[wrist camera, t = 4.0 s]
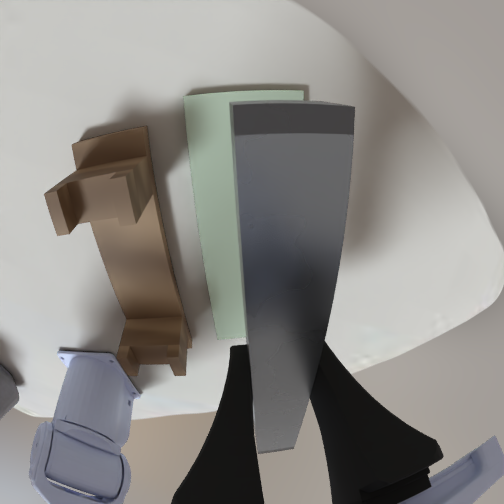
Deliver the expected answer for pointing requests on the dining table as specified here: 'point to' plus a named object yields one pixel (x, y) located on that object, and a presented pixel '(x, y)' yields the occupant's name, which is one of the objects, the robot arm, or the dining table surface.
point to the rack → (127, 243)
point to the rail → (288, 247)
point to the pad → (220, 199)
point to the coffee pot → (7, 392)
